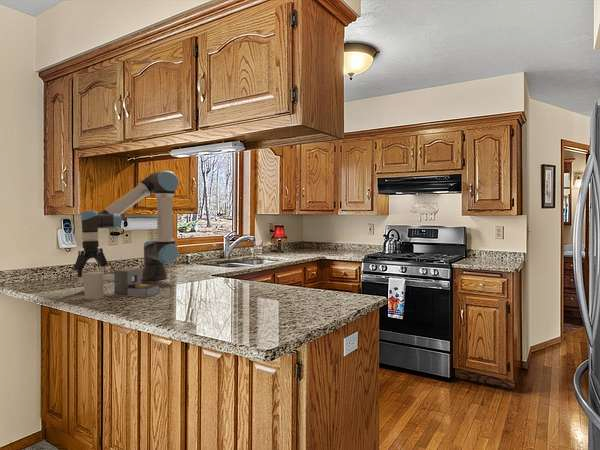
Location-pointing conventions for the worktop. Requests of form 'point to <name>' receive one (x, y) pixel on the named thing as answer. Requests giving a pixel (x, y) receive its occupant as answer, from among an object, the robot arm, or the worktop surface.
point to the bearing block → (126, 280)
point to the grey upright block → (93, 285)
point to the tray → (144, 291)
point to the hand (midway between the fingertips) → (92, 280)
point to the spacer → (141, 286)
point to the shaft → (109, 276)
